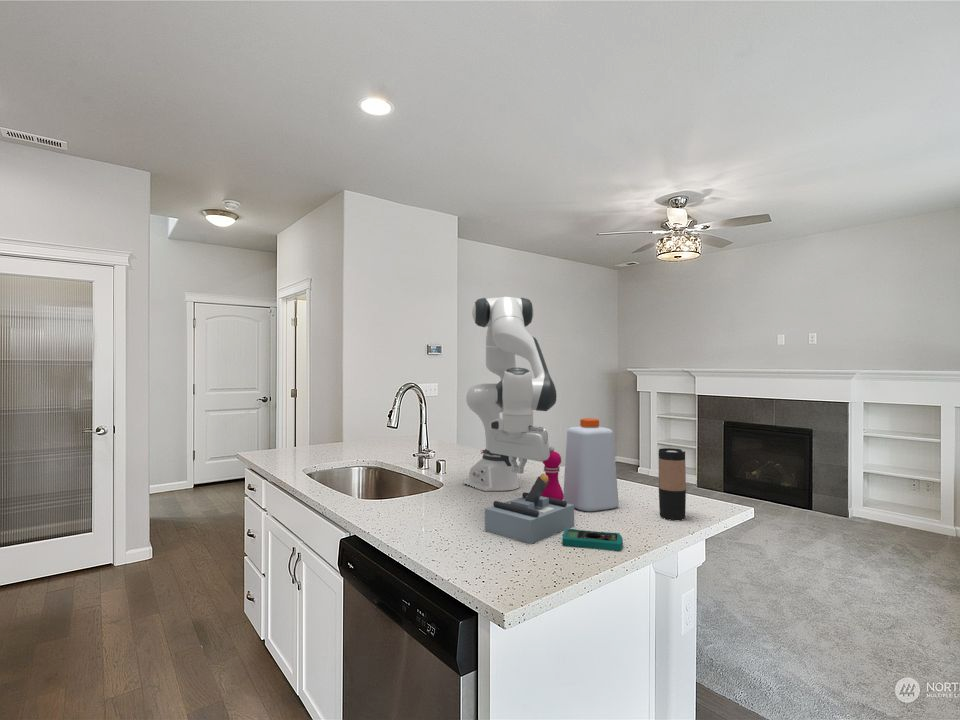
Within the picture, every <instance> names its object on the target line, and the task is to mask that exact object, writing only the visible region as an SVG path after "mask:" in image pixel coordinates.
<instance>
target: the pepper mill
mask: <svg viewBox="0 0 960 720" xmlns="http://www.w3.org/2000/svg"><path fill="white" fill-rule="evenodd" d="M549 452H550V456H549V458H548V459H547V460H545V461H541V462H542V464H543V465H544V466H543V472H545V473H544V474H546V475H547V476H548V479H549V482H548V484H547V486H546V487H545V489H544V491H543V493H542V494H541V496H544V497H549V498H554V499H559V500H563V497H564V496H563V492H564V490H563V488H562V486H561V484H560V480H559V473H560V471H561V470H560V465H561V463H562V456H561V455H560V453H558V452H557V451H555V447H553V446H552V445H551V446H549ZM563 501H564V500H563Z"/></svg>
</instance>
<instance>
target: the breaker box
mask: <svg viewBox="0 0 960 720" xmlns="http://www.w3.org/2000/svg"><path fill="white" fill-rule="evenodd" d="M526 498H527V496H526ZM526 498H524V497H523V496H521V497H518V498H515V499H512V500H509V501H506V502H504V503H507V504H511V505H515V506H520V507H524V508H528V509H532V510H536V511H538V512H539V516H538V517H534V516H530V515H526V514H522V513H518V512H514V511H510V510H506V509H502V508H498V507H495V506H494V505H492V506H489V507H487V508H484V531H485V530H486V532H489V533H492V532H493V533H492V534H495V533H496V535H499V536H503V537H506V538H509V539H511V540H512V539H513V540H515V541H519V542H523V543H525V544H529V545H532V544H535V543H537V542H539V541H541V540H544V539H547V538H550V537H552V536H554V535H556V534H559V533H561V532H562V531H563V532H564V531H565V530H566V529H571V528H572V527H575V508H574V505H573V504H569V503H567V505H566V506H565V507H563V506H559V505H554V504H550V503H549V498H547V497H542V496H540V498H539V500H538V501H537V503H536V505H534V503H533V502H529V501H525V499H526Z"/></svg>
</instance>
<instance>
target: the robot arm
mask: <svg viewBox="0 0 960 720" xmlns="http://www.w3.org/2000/svg"><path fill="white" fill-rule="evenodd" d="M534 312H535V310H534V305H533V303H532V301H531V300H530V299H528V298H525V297H519V298H518V297H512V296H502V297H501V296H500V297H499V296H498V297H489V298H486V297H482V298H478V299H476V301H474V304H473V307H472V319H473V321H474V323H475V325H476V326H478V327H482V328H487V329H486V330H487V331H486V337H485V338H486V339H485V366H486V368H487V370H488V371H489V372H491V373H493V374H495V375H497V376H498V377H500V380H499V381H498V383H480V384H475V385H473V386H471V387H470V388H468V390H467V393H466V399H465V400H466V404H467V406H468V407H469V410H471V411H472V412H473V413H474V414H476V415H477V416H478V418H479V419H480V421H481V422H482V425H483V427H484V434H485V449H482V450H481V451H480V454H481V455H482V458H481V459H480V460H478V461H477V462H476V463H475V464H474V465H473V466H472V467H470V470H469V476H468V478H467V479H464V480H462V481H463V482H462V484H463V483H464V484H463V485H465V484H467V485H466V486H468V485H470V486H469V487H471V486H472V487H471V488H474V487H475V488H474V489H477V490H480V491H482V490H483V492H490V491H496V492H501V491H502V492H504V491H513V490H514V491H515V490H517V489H518V488H520V487H521V486H520V483H519V479H518V474H524V472H525V469H524V468H525V466H526V464H527V461H529V460H531V461H536V462H542V461H545V460H547V459H548V458H549V456H550V452H549V447H550V446H549V445H550V444H549V434H548V432H547V430H546V429H545V428H544V427H543V426H535V425H534V411H539V412H547V411H549V410H550V409H552V408H553V407H554V406H555V404H556V402H557V398H558V397H557V396H558V395H557V388H556V385H555V383H554V381H553V379H552V378H551V375H550V371H549V369H548V366H547V363H546V361H545V357H544V355H543V352H542V349H541V346H540V344H539V342H538V340H537V338H536V337H534V336H532V335H531V334H530V333H529V332H528V330H527V328H526V327H527V326H529V325H530V324H531V323H532V321H533V318H534V315H535V313H534ZM516 356H519V357H521V358H523V359H525V360H527V361H528V362H529V364H530V367H531V369H532V370H531V371H532V372H533V376H534V378H532V377H533V376H532V373H531V371H530V369H528V368H523V367H517V365H516V364H517V363H516V362H517V361H516ZM500 413H502V417H501V416H500ZM517 459H518V462H519V464H518V462H517Z"/></svg>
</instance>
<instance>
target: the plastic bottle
mask: <svg viewBox="0 0 960 720" xmlns="http://www.w3.org/2000/svg"><path fill="white" fill-rule="evenodd" d="M579 423H580V424H579V426H571V427H568V428H567V432H566V447H565V463H564V478H563V496H564V497H563V501H566V502H567V503H569V504H573V505H574V509H575V510H576V509H577V510H578V511H582V512H599V511H605V510H612V509H613V510H614V509H616V508H617V507H618V506H619V491H618V490H619V488H618V479H617V468H616V453H615V440H614V431H613V430H612V429H610V428H608V427H603V426H600V420H599V418H587V417H586V418H581V419H580V421H579Z"/></svg>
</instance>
